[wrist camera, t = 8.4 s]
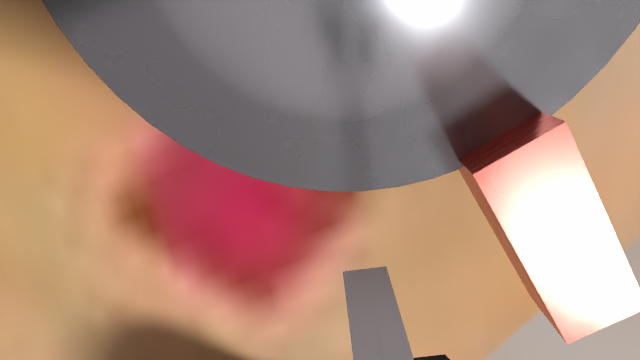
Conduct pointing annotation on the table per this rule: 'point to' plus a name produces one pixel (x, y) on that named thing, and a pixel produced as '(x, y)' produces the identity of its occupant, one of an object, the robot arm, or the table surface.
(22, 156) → the table surface
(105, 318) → the table surface
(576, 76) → the lid
